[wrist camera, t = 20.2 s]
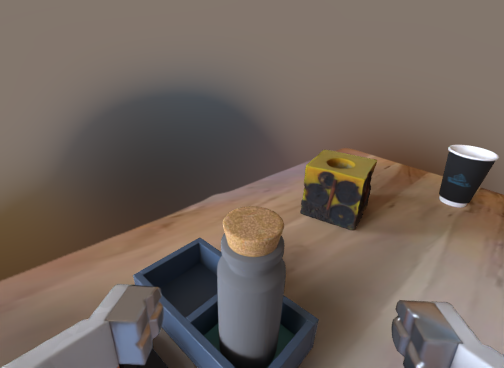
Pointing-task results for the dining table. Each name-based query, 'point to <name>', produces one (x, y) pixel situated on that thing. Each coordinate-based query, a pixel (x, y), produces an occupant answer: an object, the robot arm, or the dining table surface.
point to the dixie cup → (464, 173)
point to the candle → (337, 188)
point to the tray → (215, 309)
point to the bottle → (250, 286)
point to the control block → (148, 362)
